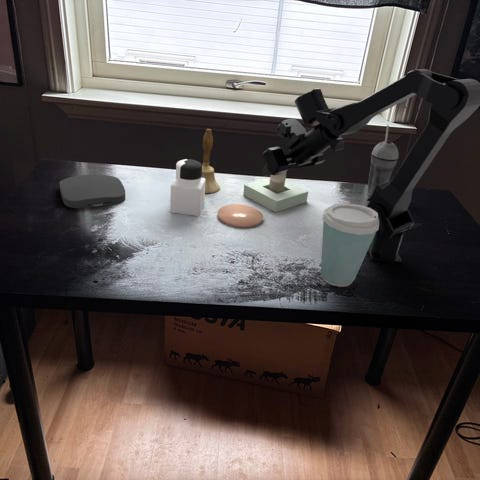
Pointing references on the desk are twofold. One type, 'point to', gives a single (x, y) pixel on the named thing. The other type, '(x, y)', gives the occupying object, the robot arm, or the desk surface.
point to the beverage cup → (382, 163)
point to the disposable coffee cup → (346, 241)
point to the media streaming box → (92, 191)
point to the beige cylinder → (277, 183)
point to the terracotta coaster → (240, 215)
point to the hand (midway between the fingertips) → (275, 170)
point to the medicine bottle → (188, 188)
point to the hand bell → (208, 171)
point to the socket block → (275, 195)
